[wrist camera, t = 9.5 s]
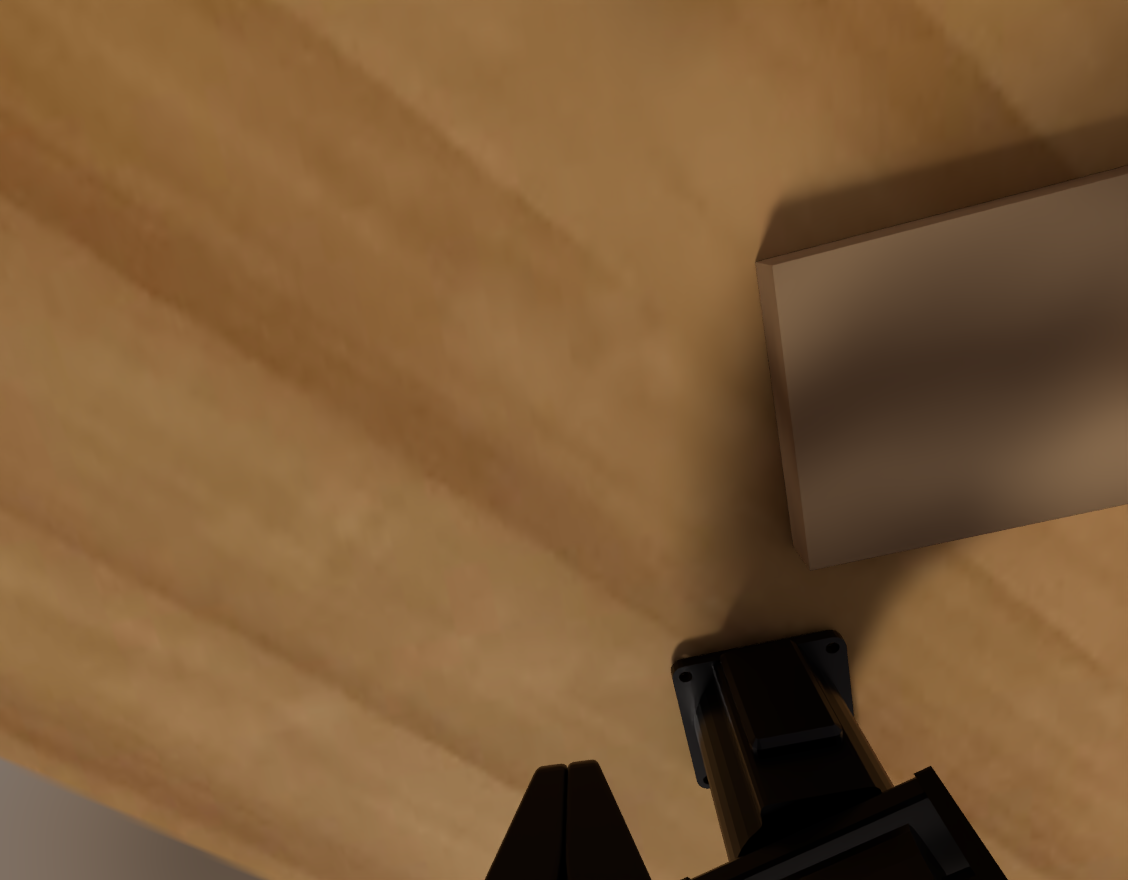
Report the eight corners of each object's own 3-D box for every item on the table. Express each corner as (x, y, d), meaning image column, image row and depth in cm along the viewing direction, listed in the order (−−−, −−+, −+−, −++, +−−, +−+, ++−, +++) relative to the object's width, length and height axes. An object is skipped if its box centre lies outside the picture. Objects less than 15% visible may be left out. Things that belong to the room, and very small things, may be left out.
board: (1214, 456, 19) (1265, 475, 18) (793, 546, 20) (810, 570, 19) (1263, 130, 16) (1331, 121, 14) (755, 262, 17) (772, 265, 16)
